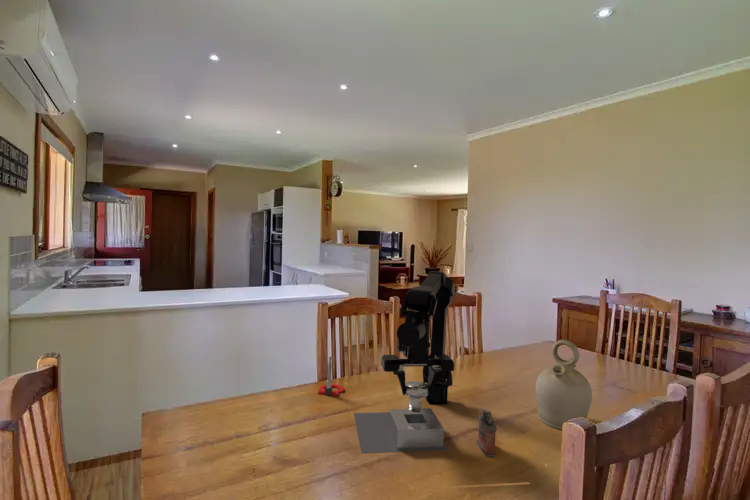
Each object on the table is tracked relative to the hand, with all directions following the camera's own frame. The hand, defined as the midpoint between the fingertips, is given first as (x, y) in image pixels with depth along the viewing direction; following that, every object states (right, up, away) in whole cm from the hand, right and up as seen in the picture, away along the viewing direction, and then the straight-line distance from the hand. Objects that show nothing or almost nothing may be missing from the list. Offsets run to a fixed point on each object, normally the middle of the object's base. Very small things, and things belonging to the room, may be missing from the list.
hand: (416, 394), depth 108 cm
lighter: (+17, -13, -4) cm, 22 cm away
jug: (+45, -13, +14) cm, 49 cm away
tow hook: (-26, -10, +30) cm, 41 cm away
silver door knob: (0, -4, 0) cm, 4 cm away
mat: (-5, -12, +4) cm, 13 cm away
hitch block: (0, -12, 0) cm, 12 cm away
